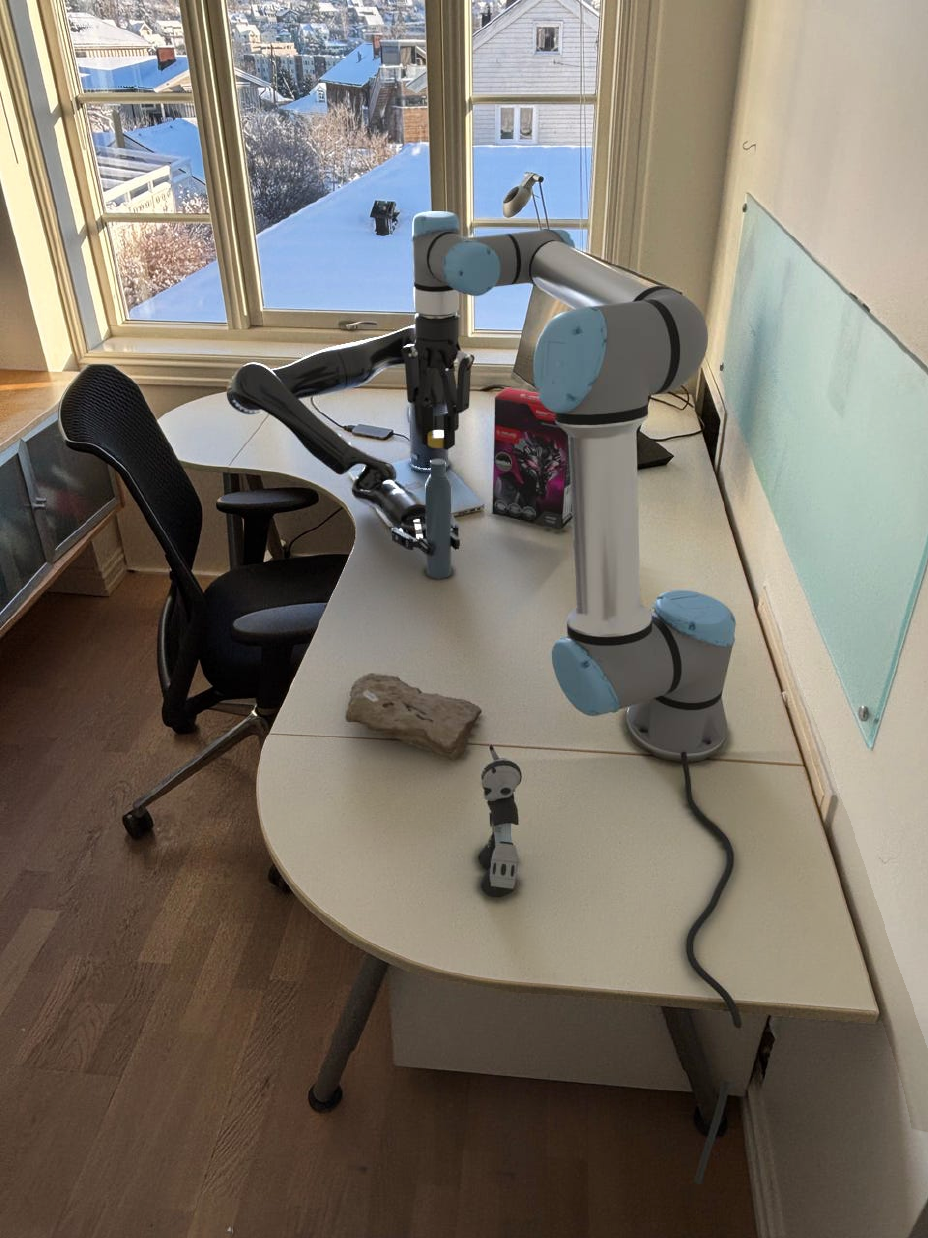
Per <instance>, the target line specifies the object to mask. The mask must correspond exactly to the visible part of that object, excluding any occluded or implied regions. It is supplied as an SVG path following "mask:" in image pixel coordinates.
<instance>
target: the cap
mask: <svg viewBox="0 0 928 1238" xmlns="http://www.w3.org/2000/svg"><path fill="white" fill-rule="evenodd" d="M427 440H428V445H429V446H430V447H433V448H444V430H433V431H430V432H429V433H428V436H427Z"/></svg>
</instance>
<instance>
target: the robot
mask: <svg viewBox="0 0 928 1238" xmlns="http://www.w3.org/2000/svg"><path fill="white" fill-rule="evenodd" d="M489 751H490V754H491V756H492V757H491V758H492V761H491V762H489V763H488V764H487V765H486V766H485V767H484V768H483V769H482V771H481V773H480V779H481V782H480V784H481V788H482V789H483V798H484V799H485V800H486V805H487V806H488V809H489V811H490V812H489V814H488V815H489V816H488V817H489V827H491V829H492V831H491V833H492V834H490V837H489V838H488V842H487V843H486V844H485V846H484V847H483V848H482V850H481V851H480V853H479V855H477V858H478V861H479V862H480V864H481V866H482V867H484V868H485V869H487V870H486V871H485V873H484V875H483V877H482V880H481V884H480V889H482V891H484V893H485V894H486V895H487V896H491V897H495V898H498V897H503V896H505V895H507V894H509V893H511V892H513V891H514V888H515V884H516V881H517V872H518V867H519V855H518V851H517V846H516V845H515V844H514V843H513V840H512V825H515V826H519V825H520V823H519V822H520V820H519V809H518V805H517V803H516V801H515V793H514V792H516V789H517V787H518V786H519V785H520V784H521V783H522V779H523V774H522V770H521V768H520V766H519V765H518V764H517V763H516V762H514V761H512V760H511V759H507V758H506V757H501V758H500V756H499V755H498V753H497V751H496V750H495V748H494V745H493V744H490V745H489Z"/></svg>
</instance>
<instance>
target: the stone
mask: <svg viewBox="0 0 928 1238" xmlns="http://www.w3.org/2000/svg"><path fill="white" fill-rule="evenodd" d="M349 697H350V698H349V701H348V704H347V706H348V707H347V709H346V712H345V717H344V718H345V721H346V722H347V723H349V724H350V723H359V724H361V725H364V726H365V727H366V729H367V730H368V731H370V732H372V733H377V734H382V736H383V737H387V738H390V739H391V738H392V739H398V740H399V741H401V742H404V743H406V744H410V745H413V746H416V747H418V748H420V749H422V750H424V751H426V752H428V753H437V754H440V755H442V756H444V757H445V758H447V759H449V760H452V761H456V760H458V759H460V758H462V756H463V755H464V752H465V750H466V748H467V745H468V744H469V736H470V734H471V732H472V730H473V728H474V726H475V723H476V722H477V720H478V718H479V716H480V715H481V714H482V711H483V709H482V708H481V707H480V706H478V705H476V704H475V703H473V702H472V701H470V700H466V699H464V698H456V697H449V696H444V695H441V694H439V693H429V692H423V691H422V690H421V689H420V688H419V687H417V686H415V687H414V686H410V685H409V684H408V683H407V682H406V681H403V680H401V677H399V676H394V675H389V674H379V673H377V674H376V673H374V672H373V673H372V672H370V673H368V674H366V675H363V676H362V677H359V678H358V679H356V680H355V681H354V682H353V684H352V685H351V690H350V692H349Z"/></svg>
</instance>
